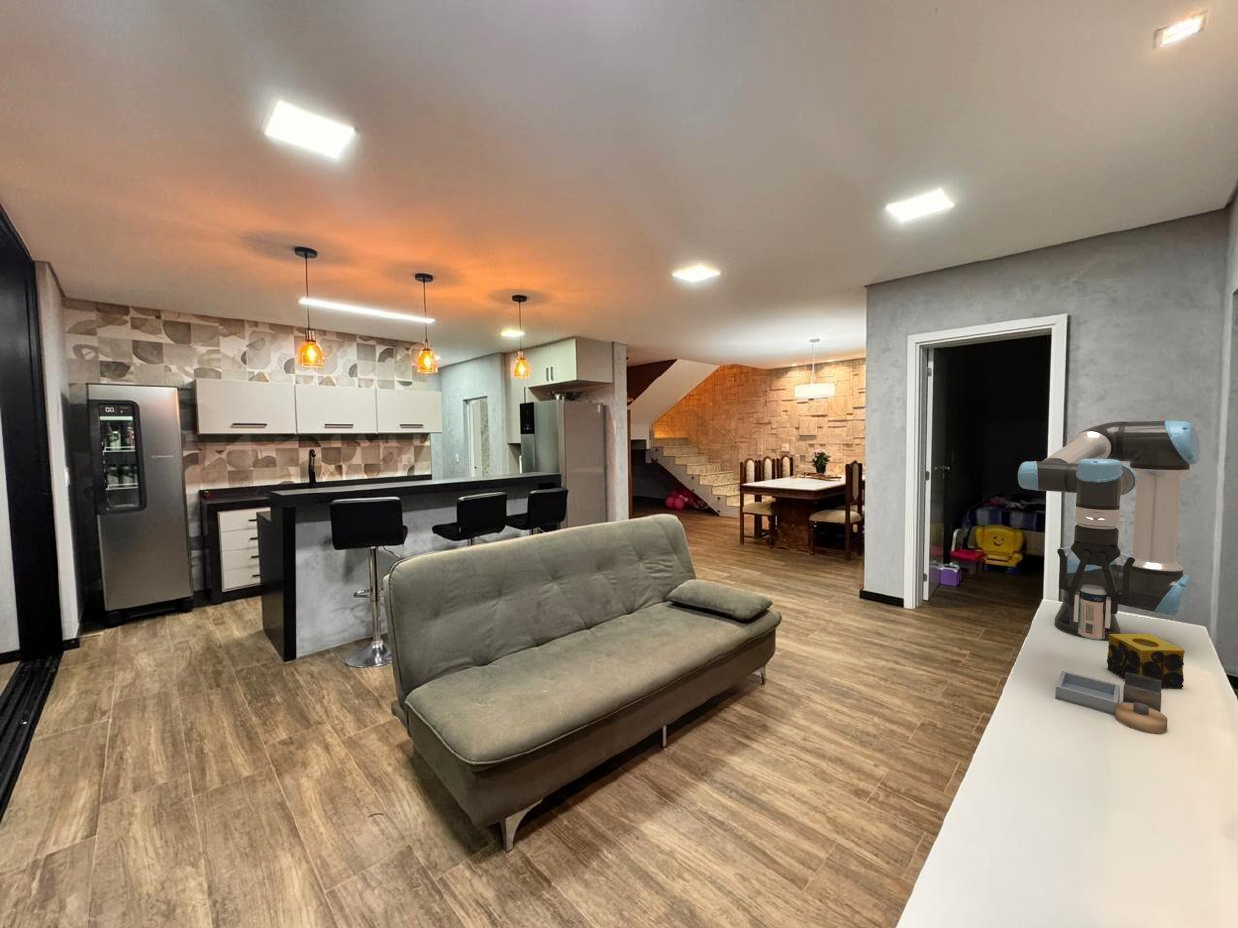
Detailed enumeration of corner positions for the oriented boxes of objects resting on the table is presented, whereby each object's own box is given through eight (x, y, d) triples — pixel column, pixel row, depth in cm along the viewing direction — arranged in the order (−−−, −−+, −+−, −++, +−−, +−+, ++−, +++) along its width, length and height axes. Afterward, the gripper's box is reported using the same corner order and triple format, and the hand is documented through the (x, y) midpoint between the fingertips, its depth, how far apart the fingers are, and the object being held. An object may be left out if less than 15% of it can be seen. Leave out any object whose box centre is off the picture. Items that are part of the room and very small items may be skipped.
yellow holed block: (1147, 669, 136) (1149, 633, 135) (1185, 689, 126) (1187, 650, 125) (1105, 669, 137) (1106, 632, 136) (1139, 688, 127) (1141, 649, 126)
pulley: (1116, 708, 119) (1116, 691, 118) (1166, 722, 113) (1167, 704, 113) (1113, 723, 113) (1114, 705, 113) (1167, 738, 107) (1168, 720, 107)
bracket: (1124, 691, 126) (1125, 671, 125) (1160, 700, 121) (1161, 680, 121) (1122, 706, 119) (1123, 686, 119) (1160, 717, 115) (1161, 695, 114)
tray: (1061, 682, 131) (1061, 670, 131) (1119, 697, 123) (1120, 685, 123) (1055, 698, 124) (1055, 686, 123) (1116, 715, 116) (1117, 702, 116)
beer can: (1110, 641, 119) (1113, 590, 118) (1087, 640, 120) (1089, 590, 119) (1094, 632, 124) (1096, 583, 123) (1072, 632, 125) (1074, 583, 124)
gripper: (1044, 523, 124) (1040, 618, 126) (1151, 533, 111) (1145, 638, 113) (1049, 518, 129) (1045, 609, 131) (1151, 527, 116) (1145, 628, 118)
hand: (1091, 622), depth 122 cm, fingers closed on beer can, 5 cm apart
